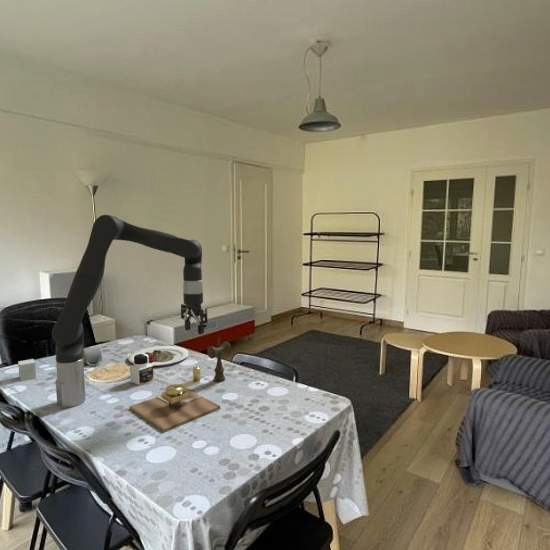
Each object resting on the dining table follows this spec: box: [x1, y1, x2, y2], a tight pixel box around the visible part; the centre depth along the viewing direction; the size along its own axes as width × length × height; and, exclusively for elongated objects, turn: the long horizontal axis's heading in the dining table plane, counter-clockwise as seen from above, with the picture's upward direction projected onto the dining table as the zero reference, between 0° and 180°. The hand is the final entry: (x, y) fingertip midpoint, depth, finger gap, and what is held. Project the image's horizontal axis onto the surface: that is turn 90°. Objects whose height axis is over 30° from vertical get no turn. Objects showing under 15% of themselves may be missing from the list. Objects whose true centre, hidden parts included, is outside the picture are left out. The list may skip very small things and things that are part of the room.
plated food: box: [127, 345, 189, 367], centre depth 203 cm, size 30×30×3 cm
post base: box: [129, 388, 221, 433], centre depth 148 cm, size 24×24×6 cm
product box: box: [17, 358, 37, 382], centre depth 176 cm, size 6×6×7 cm
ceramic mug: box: [83, 346, 103, 368], centre depth 194 cm, size 11×8×8 cm
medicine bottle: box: [129, 354, 154, 386], centre depth 173 cm, size 7×7×12 cm
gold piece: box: [160, 366, 201, 404], centre depth 150 cm, size 15×9×9 cm, turn 136°
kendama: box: [206, 336, 232, 382], centre depth 174 cm, size 6×10×20 cm, turn 134°
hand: (194, 331), depth 155 cm, fingers open, 8 cm apart
